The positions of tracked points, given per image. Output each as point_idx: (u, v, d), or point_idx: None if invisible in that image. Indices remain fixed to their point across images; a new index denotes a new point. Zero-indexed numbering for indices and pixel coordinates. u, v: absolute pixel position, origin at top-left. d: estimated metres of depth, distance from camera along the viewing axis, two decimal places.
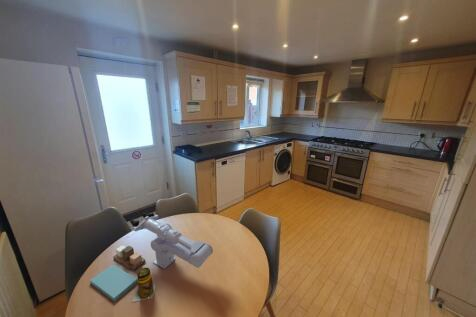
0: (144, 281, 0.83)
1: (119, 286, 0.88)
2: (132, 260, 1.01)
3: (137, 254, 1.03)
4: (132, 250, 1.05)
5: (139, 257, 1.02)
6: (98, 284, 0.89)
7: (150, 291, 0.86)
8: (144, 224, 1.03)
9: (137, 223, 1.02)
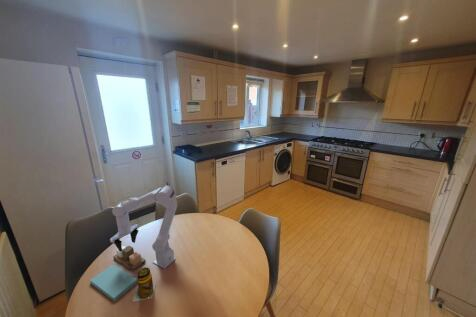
0: (144, 281, 0.83)
1: (119, 286, 0.88)
2: (131, 260, 1.01)
3: (137, 254, 1.03)
4: (132, 250, 1.05)
5: (139, 257, 1.02)
6: (98, 284, 0.89)
7: (150, 291, 0.86)
8: (118, 232, 1.00)
9: None
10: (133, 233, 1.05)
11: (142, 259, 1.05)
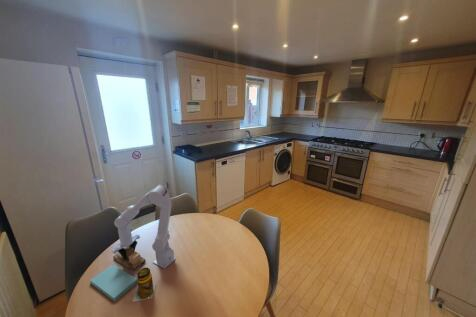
0: (144, 281, 0.83)
1: (119, 286, 0.88)
2: (131, 259, 1.01)
3: (136, 253, 1.03)
4: (132, 250, 1.05)
5: (138, 256, 1.02)
6: (98, 284, 0.89)
7: (150, 291, 0.86)
8: (120, 242, 1.01)
9: None
10: (132, 245, 1.05)
11: (142, 259, 1.05)
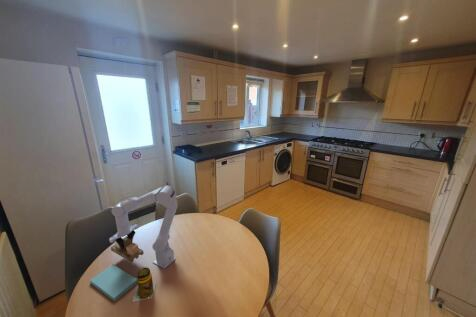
0: (144, 281, 0.83)
1: (119, 286, 0.88)
2: (129, 250, 0.99)
3: (134, 244, 1.01)
4: (130, 241, 1.03)
5: (136, 247, 1.01)
6: (98, 284, 0.89)
7: (150, 291, 0.85)
8: (117, 232, 0.99)
9: None
10: (130, 234, 1.03)
11: (140, 250, 1.03)
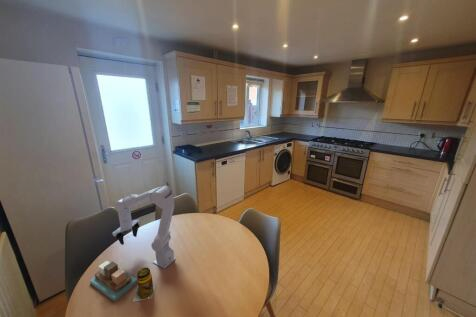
0: (144, 281, 0.83)
1: None
2: (114, 278, 0.87)
3: (120, 271, 0.89)
4: (116, 267, 0.90)
5: (123, 275, 0.88)
6: (98, 284, 0.89)
7: (150, 291, 0.86)
8: (120, 226, 1.03)
9: None
10: (134, 227, 1.09)
11: (127, 277, 0.90)
